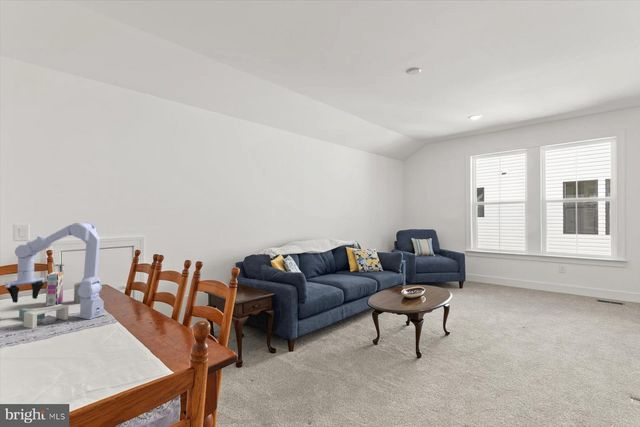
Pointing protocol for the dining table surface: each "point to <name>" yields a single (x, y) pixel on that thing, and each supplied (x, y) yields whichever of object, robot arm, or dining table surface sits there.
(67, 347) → the dining table surface
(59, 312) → the plinth shelf
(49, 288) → the candy bar box
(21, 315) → the slat blade
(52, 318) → the steel token
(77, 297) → the cup
